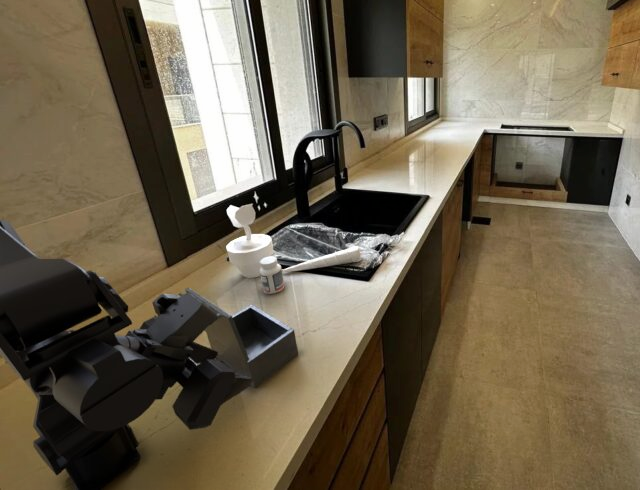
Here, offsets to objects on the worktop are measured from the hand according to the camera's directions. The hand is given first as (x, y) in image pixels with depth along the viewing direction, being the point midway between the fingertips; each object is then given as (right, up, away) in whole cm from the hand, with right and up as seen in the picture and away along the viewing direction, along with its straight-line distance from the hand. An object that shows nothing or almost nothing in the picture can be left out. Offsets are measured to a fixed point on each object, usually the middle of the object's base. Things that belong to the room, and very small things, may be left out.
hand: (232, 368), depth 48 cm
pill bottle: (-12, +1, +40) cm, 42 cm away
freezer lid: (-9, +3, +11) cm, 14 cm away
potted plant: (-21, +4, +48) cm, 52 cm away
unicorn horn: (-2, +5, +50) cm, 51 cm away
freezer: (-6, -7, +19) cm, 21 cm away
